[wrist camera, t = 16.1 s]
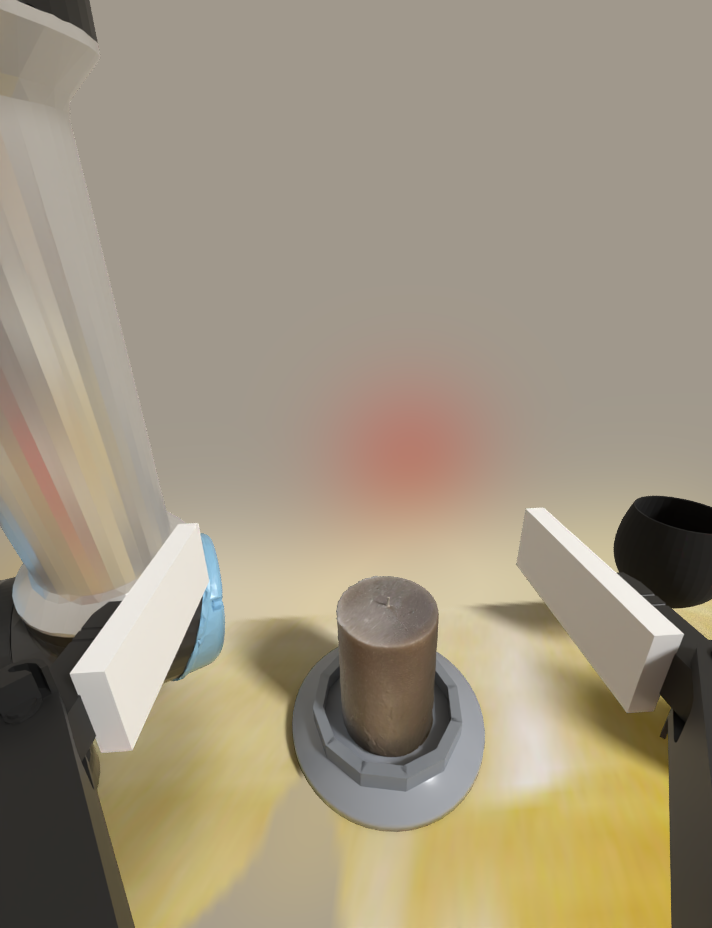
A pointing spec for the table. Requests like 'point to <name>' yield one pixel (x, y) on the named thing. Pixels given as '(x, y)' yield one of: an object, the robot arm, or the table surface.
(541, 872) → the table surface
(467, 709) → the candle plate
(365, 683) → the pillar candle
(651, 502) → the wine glass
